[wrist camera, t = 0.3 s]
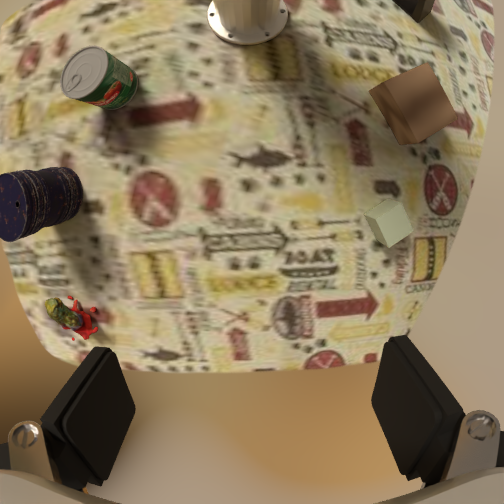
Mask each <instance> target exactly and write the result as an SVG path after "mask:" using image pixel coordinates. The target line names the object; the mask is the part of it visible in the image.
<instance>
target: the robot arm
mask: <svg viewBox="0 0 504 504" xmlns="http://www.w3.org/2000/svg"><path fill="white" fill-rule="evenodd" d="M212 16H213V17H212ZM287 18H288V10H287V7H286V4H285V3H284V1H283V0H213V1H212V2H211V4H210V6H209V8H208V12H207V19H208V23H209V25H210V27H211V29H212V31H213V32H214V33H215V34H216V35H217V36H219V37H220V38H221V39H223V40H225V41H227V42H231V43H234V44H240V45H254V44H260V43H263V42H266V41H268V40H271V39H273V38H274V37H276V36H277V35H278V34H279V33H280V32H281V31H282V30H283V28H284V27H285V25H286V22H287ZM266 35H267V36H266ZM230 37H232V38H230ZM371 401H372V406H373V409H374V411H375V414H376V416H377V418H378V420H379V423H380V425H381V427H382V430H383V432H384V435H385V437H386V439H387V441H388V444H389V447H390V449H391V451H392V454H393V456H394V459H395V461H396V463H397V466H398V469H399V471H400V473H401V474H402V475H406V478H407V480H408V481H410V480H412V479H415V478H418V477H421V480H422V482H423V484H422V486H421V489H420V490H418V491H415V492H412V493H409V494H406V495H403V496H400V497H396V498H393V499H390V500H386V501H382V502H379V503H375V504H504V431H500V424H499V421H498V419H497V418H496V417H495V416H494V415H493V414H491V413H489V412H486V411H483V410H477V411H472V412H470V413H468V414H467V415H465V413H464V412H463V409H462V407H461V406H460V405H459V403H458V402H457V400H456V399H455V398H454V396H453V395H452V393H451V392H450V391H449V389H448V388H447V387H446V385H445V384H444V383H443V381H442V380H441V379H440V377H439V376H438V375H437V373H436V372H435V371H434V369H433V368H432V367H431V366H430V364H429V363H428V362H427V360H426V359H425V358H424V357H423V355H422V354H421V353H420V352H419V351H418V349H417V348H416V347H415V345H414V344H413V343H412V342H411V340H410V339H409V338H408V337H407V336H406V335H402V336H396V337H391V338H390V339H389V340H388V342H386V343H385V344H384V348H383V352H382V357H381V362H380V366H379V370H378V375H377V379H376V383H375V387H374V391H373V394H372V399H371ZM134 414H135V404H134V402H133V399H132V396H131V394H130V391H129V389H128V386H127V384H126V381H125V378H124V376H123V373H122V370H121V367H120V364H119V362H118V359H117V356H116V354H115V353H114V352H112V350H111V349H110V348H107V347H94V348H93V349H92V350H91V352H90V353H89V354H88V355H87V357H86V358H85V359H84V360H83V362H82V363H81V364H80V366H79V367H78V368H77V370H76V371H75V372H74V374H73V375H72V376H71V378H70V379H69V380H68V381H67V383H66V384H65V385H64V387H63V388H62V390H61V391H60V392H59V394H58V395H57V396H56V398H55V399H54V400H53V402H52V403H51V405H50V406H49V407H48V409H47V410H46V412H45V413H44V414H43V416H42V417H41V419H40V420H41V421H42V425H41V426H39V425H38V424H37V423H35V422H33V421H24V422H21V423H18V424H17V425H15V426H14V427H13V428H12V430H11V431H10V433H9V437H8V443H4V444H0V504H120V503H116V502H112V501H109V500H106V499H102V498H99V497H96V496H92V495H89V493H88V491H87V488H86V484H87V482H89V483H91V484H95V485H98V486H102V484H103V481H104V480H107V479H108V477H109V475H110V472H111V470H112V467H113V465H114V462H115V460H116V458H117V455H118V453H119V450H120V447H121V445H122V443H123V440H124V438H125V435H126V433H127V431H128V428H129V426H130V423H131V421H132V419H133V417H134Z"/></svg>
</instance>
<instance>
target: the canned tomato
mask: <svg viewBox="0 0 504 504" xmlns="http://www.w3.org/2000/svg"><path fill="white" fill-rule="evenodd" d="M60 84H61V89H62V91H63V93H64V94H65V95H66V96H67V97H69V98H72V99H76V100H79V101H83V102H86V103H89V104H93V105H96V106H99V107H102V108H105V109H108V110H115V109H119V108H121V107H123V106H125V105H126V104H127V103H128V102H130V100H131V99H132V98H133V96H134V95H135V93H136V91H137V87H138V77H137V75H136V73H135V71H134V70H133V69H131V68H129V67H128V66H127V65H125V64H124V63H123V62H121V61H120V60H118V59H117V58H115V57H114V56H112V55H111V54H109V53H108V52H107V51H105V50H104V49H102V48H101V47H98V46H88V47H85V48H82V49H81V50H79V51H77V52H76V53H75V54H74V55H73V56H72V57H71V58H70V59H69V60H68V61H67V63H66V65H65V66H64V69H63V71H62V74H61V80H60Z"/></svg>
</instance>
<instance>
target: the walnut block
mask: <svg viewBox="0 0 504 504" xmlns="http://www.w3.org/2000/svg"><path fill="white" fill-rule="evenodd" d="M369 92H370V94H371V96H372V97H373V99H374V100H375V102H376V104H377V105H378V107H379V109H380V110H381V112H382V114H383V115H384V117H385V119H386V121H387V122H388V124H389V126H390V128H391V130H392V131H393V133H394V135H395V137H396V139H397V141H398V143H399V145H404V144H415V143H419V142H421V141H423V140H424V139H426V138H427V137H429V136H431V135H432V134H434V133H436V132H437V131H439V130H441V129H442V128H444V127H445V126H447V125H449V124H450V123H452V122H454V121H455V120H457V119H458V117H457V115H456V113H455V111H454V109H453V107H452V105H451V103H450V101H449V99H448V97H447V95H446V93H445V92H444V90H443V88H442V86H441V84H440V82H439V81H438V79H437V77H436V75H435V74H434V72H433V70H432V69H431V67H430V65H429V64H428V62H427V63H425V64H422V65H420V66H418V67H415V68H413V69H411V70H409V71H406V72H404V73H402V74H400V75H397V76H395V77H393V78H391V79H389V80H387V81H385V82H383V83H381V84H379V85H378V86H376V87H374V88H373V89H371V90H369Z"/></svg>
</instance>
